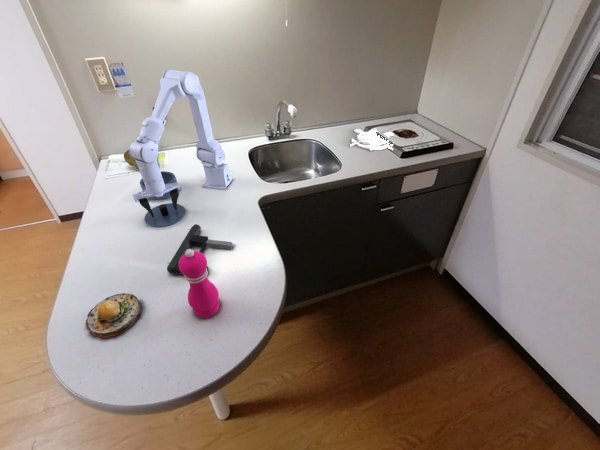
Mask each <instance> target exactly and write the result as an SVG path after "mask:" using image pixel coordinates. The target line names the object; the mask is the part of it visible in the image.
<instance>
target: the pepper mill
mask: <svg viewBox="0 0 600 450" xmlns="http://www.w3.org/2000/svg"><path fill="white" fill-rule="evenodd" d="M199 251H200V250H199ZM199 251H198V250H193V249H192V248H190V249H188V250H186V252H185V254H184V255H182V257H181V258H180V260H179V269H180V271H181V273H182V274H181V275H183V276H184V279H185V281H186V282H187V283H188V284H189V289H188V293H187V302H188V305H189V307H191V308H192V310H193V313H194V314H195V316H196V317H198V318H199V319H200V318H201V319H207V318H211V317H212V316H214V315H215V314H216V313H217V312H218V311H219V309H220V301H219V296H220V294H219V290H218V288H217V287H216V285H215V284H214V283H213V282H211V281H210V280H209V278H208V274H209V270H208V271H207V268H206V267H207V266H208V260H207V257H206V256H205V254H204V253H203V254H202V253H201V252H199Z"/></svg>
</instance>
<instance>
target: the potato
mask: <svg viewBox="0 0 600 450" xmlns="http://www.w3.org/2000/svg"><path fill="white" fill-rule="evenodd" d="M129 152H130V151H129V149H127V150H126V151H125V152H124V153H123V158H124V161H125V162H126V163H127V165H129V166H132V167H134V168H135V169H137V170H139V168H138V165H137V163H136V161H135V159H133V158H132V157H131V156H130V155H129Z"/></svg>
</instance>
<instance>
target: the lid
mask: <svg viewBox="0 0 600 450" xmlns="http://www.w3.org/2000/svg"><path fill="white" fill-rule="evenodd" d="M151 210H152V212H153V214H154V217H152V216H151V214H150V213H149V212H148V211H147V212H146V214H145V215H144V222H145V224H146V225H147V226H149V227H152V228H166V227H170V226H172V225H175V224H177V223H179V222H180V221H182V220H183V219H184V217H185V216H186V213H187V212H186V208H185V207H184V206H183V205H182V204H179V203H177V210H175V209H174V207H173V204H172V202H170V203H162V204H159V205H157V206H155V207H152V208H151Z"/></svg>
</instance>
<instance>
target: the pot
mask: <svg viewBox="0 0 600 450" xmlns="http://www.w3.org/2000/svg"><path fill="white" fill-rule="evenodd" d="M160 172H161V175H162V178H163V181H164V184H171V183H176V182H178V181H177V178H176V175H175V173H173V172H171V171H167V170H166V171H165V170H162V171H161V170H160ZM139 185H140V188H141V191H143V190H146V187H145V184H144V181H143V179H142V178H141V179H140V181H139ZM167 199H171V196H170V194H169V192H167V193H165V194H163V196H161V197H156V196H155V197H149V198H147V200H148V201H153V202H154V201H155V202H156V201H163V200H167Z"/></svg>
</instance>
